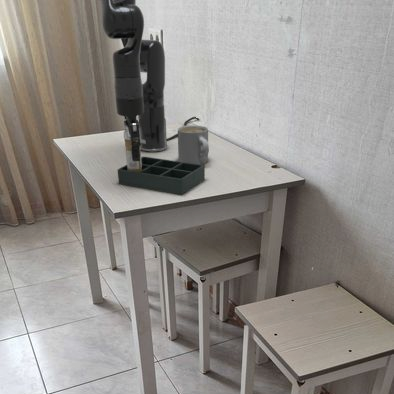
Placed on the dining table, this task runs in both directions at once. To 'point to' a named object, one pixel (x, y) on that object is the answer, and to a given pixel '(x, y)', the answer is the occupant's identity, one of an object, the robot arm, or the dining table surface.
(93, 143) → the dining table surface
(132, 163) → the sprinkles bottle
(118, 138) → the dining table surface
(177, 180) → the rack
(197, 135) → the coffee mug
